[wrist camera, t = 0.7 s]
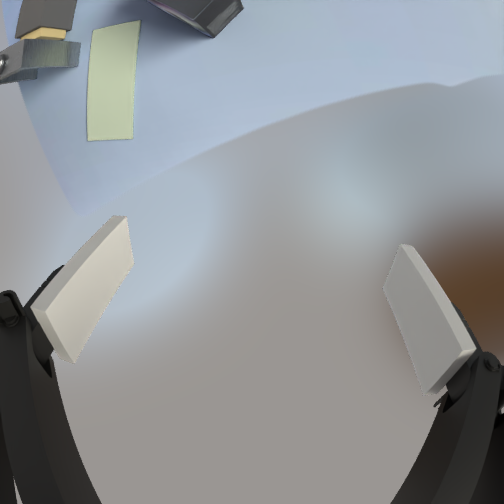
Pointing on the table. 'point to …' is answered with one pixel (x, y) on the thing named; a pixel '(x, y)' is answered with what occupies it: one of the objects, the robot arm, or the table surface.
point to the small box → (202, 13)
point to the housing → (36, 58)
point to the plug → (45, 19)
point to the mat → (112, 81)
